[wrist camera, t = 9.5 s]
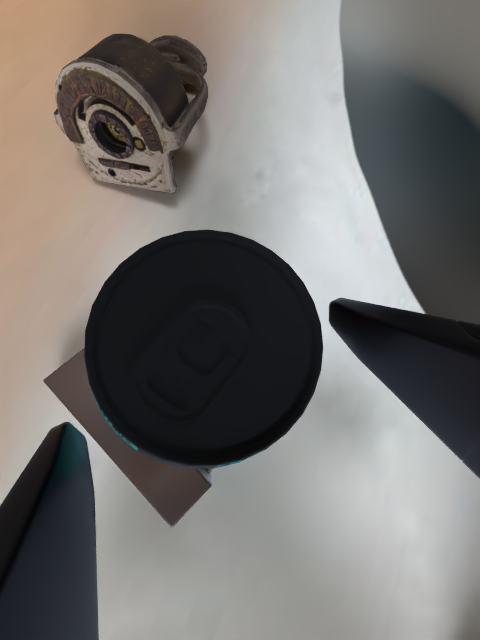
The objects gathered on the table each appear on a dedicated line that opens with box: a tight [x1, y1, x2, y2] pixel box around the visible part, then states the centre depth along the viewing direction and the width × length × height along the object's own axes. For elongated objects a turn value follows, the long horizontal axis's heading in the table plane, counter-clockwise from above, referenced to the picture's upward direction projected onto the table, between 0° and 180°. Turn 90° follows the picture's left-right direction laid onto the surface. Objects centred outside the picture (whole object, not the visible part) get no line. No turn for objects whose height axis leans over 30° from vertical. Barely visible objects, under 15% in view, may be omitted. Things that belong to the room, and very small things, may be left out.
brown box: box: [43, 348, 211, 527], centre depth 16 cm, size 11×3×2 cm, turn 43°
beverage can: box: [84, 230, 323, 468], centre depth 12 cm, size 7×7×12 cm
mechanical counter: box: [54, 34, 208, 193], centre depth 17 cm, size 7×13×10 cm
